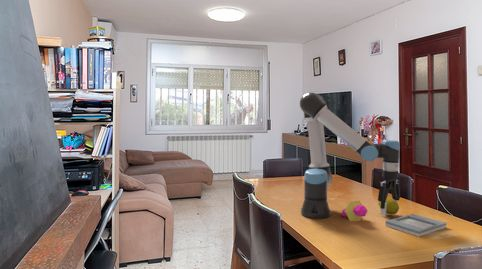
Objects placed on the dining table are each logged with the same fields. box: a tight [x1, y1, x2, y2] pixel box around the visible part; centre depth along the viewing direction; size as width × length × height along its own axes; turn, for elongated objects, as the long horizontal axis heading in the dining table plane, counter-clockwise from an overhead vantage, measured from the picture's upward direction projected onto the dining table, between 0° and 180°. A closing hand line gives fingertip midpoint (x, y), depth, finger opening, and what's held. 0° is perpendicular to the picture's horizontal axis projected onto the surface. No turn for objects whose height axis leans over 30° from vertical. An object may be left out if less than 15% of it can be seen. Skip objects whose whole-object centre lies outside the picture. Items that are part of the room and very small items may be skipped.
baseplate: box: [384, 213, 447, 237], centre depth 149 cm, size 22×16×2 cm
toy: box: [341, 200, 368, 222], centre depth 160 cm, size 10×18×10 cm, turn 12°
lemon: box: [377, 198, 400, 216], centre depth 166 cm, size 11×8×8 cm
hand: (388, 213), depth 166 cm, fingers closed on lemon, 8 cm apart
